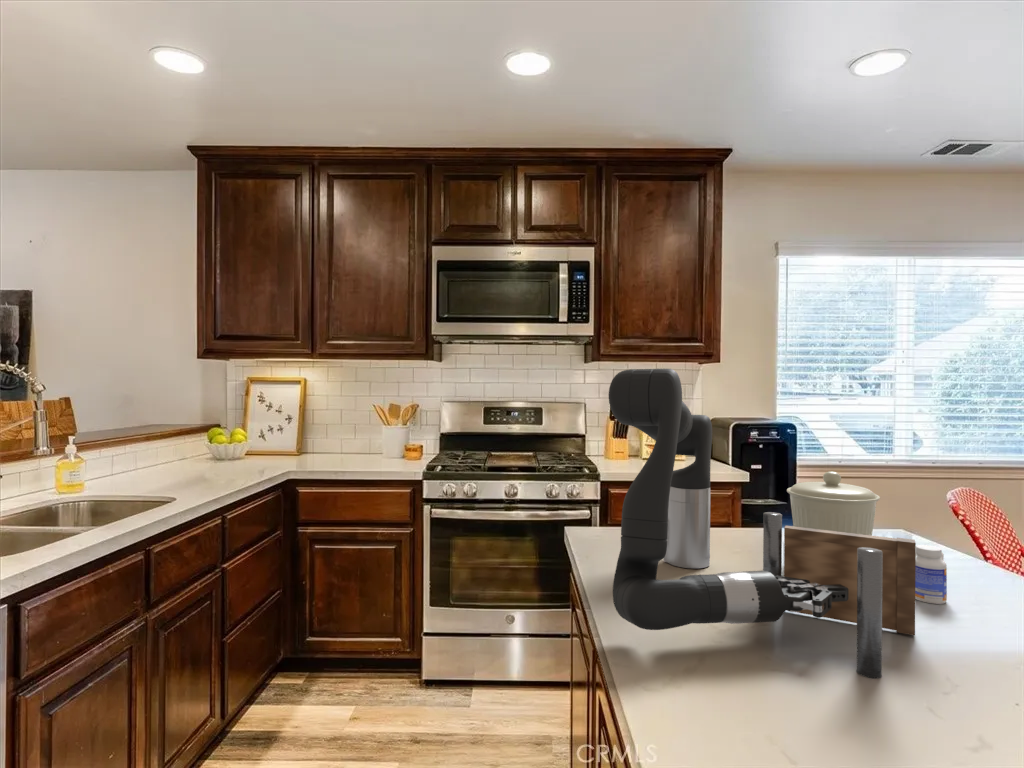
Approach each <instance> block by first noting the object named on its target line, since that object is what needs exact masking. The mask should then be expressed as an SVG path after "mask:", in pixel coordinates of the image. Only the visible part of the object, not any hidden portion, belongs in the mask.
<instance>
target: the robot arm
mask: <svg viewBox="0 0 1024 768" xmlns="http://www.w3.org/2000/svg"><path fill="white" fill-rule="evenodd" d="M608 403H609V408H610V410H611V412H612V415H613V416H614V418H615V419H616V421H617V422H618V423H620V424H622V425H624V426H625V425H626V426H630V427H634V428H636V429H638V430H639V431H641V432H642V433H644V434H646V435H647V436H648V437H650V438H651V439H653V440H654V441H655V442H654V446H653V448H652V450H651V453H650V455H649V456H648V458H647V460H646V462H645V463H644V465H643V466H642V468H641V469H640V471H639V472H638V474H637V475H636V477H634V479H633V481H632V483H631V484H630V486H629V488H628V490H627V492H626V494H625V495H624V499H623V503H622V510H621V522H620V523H621V527H620V550H619V554H618V557H617V562H616V566H615V572H614V577H613V583H612V600H613V605H614V608H615V610H616V612H617V613H618V615H619V616H620V617H621V618H622V619H623V620H625V621H627V622H629V623H631V624H632V625H634V626H636V627H638V628H639V629H642V630H648V631H662V630H669V629H670V630H671V629H675V628H680V627H683V626H688V625H690V624H698V625H699V624H718V623H719V624H721V623H723V624H724V623H725V624H731V625H732V624H733V625H734V624H737V625H738V624H753V623H755V624H756V623H772V622H773V623H774V622H777V621H779V620H780V619H781V618H782V616H783V615H784V613H785V612H786V611H787V610H788V612H790V613H791V612H792V613H797V612H799V611H801V610H805V609H808V610H812V613H813V615H812V617H815V618H818V619H819V618H820V619H821V618H823V617H822V616H824V615H825V614H826V613H827V612H828V611H829V610H830V609H832V602H839V601H847V600H848V588H847V587H845V586H843V585H841V584H833V585H821V584H818V583H810V581H809V580H806V579H798V578H792V577H785V576H784V575H782V576H778V575H774V574H772V573H770V572H769V571H763V570H746V571H741V570H740V571H725V572H720V573H713V574H712V573H711V574H710V573H708V574H694V575H693V574H689V575H685V576H684V575H683V576H681V577H679V579H678V578H677V579H657V573H658V569H659V562H660V561H663V562H664V563H667V564H670V565H672V566H675V567H679V568H683V569H684V568H685V569H703V568H708V567H709V566H710V565H711V561H710V559H711V461H712V460H711V458H712V457H711V456H712V445H713V443H712V441H713V424H712V420H711V418H710V417H709V416H708V415H706V414H692V412H691V411H690V409H689V407H688V406H687V404H685V402H684V401H683V390H682V382H681V378H680V375H679V374H678V373H677V371H675V370H674V369H673V368H638V369H637V368H633V369H632V368H631V369H625V370H622V371H619V372H618V373H616V374H615V375H614V377H613V378H612V380H611V382H610V385H609V388H608ZM676 456H689V457H695V458H694V461H693V462H692V463H691V464H688V465H687V466H686V467H681V468H679V469H675V470H674V467H675V460H676Z"/></svg>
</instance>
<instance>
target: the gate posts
mask: <svg viewBox="0 0 1024 768" xmlns="http://www.w3.org/2000/svg"><path fill="white" fill-rule="evenodd" d="M762 535H763V536H762V537H763V539H762V542H763V546H762V547H763V549H762V550H763V551H762V553H763V554H762V557H763V558H762V567H763V568H762V571H769V572H770V573H772V574H774V575H778V576H783V575H782V573H783V571H782V569H783V568H782V567H783V566H782V564H783V563H782V562H783V559H782V557H783V556H782V555H783V550H782V549H783V514H781V513H780V512H772V511H767V512H763V533H762ZM882 569H883V552H882V551H881V550H878V549H874V548H866V547H861V548H857V623H856V672H857V673H858V674H859V675H860V676H863V677H865V678H869V679H881V678H882V677H883V676H882V674H883V669H882V668H883V628H882Z"/></svg>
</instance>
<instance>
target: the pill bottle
mask: <svg viewBox="0 0 1024 768" xmlns="http://www.w3.org/2000/svg"><path fill="white" fill-rule="evenodd" d="M942 553H943V552H942V548H940V547H938V546H934V545H926V544H919V545H917V544H916V554H917V556H916V565H915V600H917V601H919V602H922V603H923V602H924V603H926V604H927V603H928V604H933V605H942V604H943V605H944V604H946V603H947V601H948V600H947V599H948V596H947V595H948V593H947V592H948V590H947V589H948V588H947V586H948V585H947V584H948V583H947V582H948V579H947V577H948V576H947V574H948V573H947V569H948V568H947V562H946V561H943V560H941V559H940V557H942Z"/></svg>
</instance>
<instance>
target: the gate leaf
mask: <svg viewBox="0 0 1024 768" xmlns="http://www.w3.org/2000/svg"><path fill="white" fill-rule="evenodd" d="M783 532H784V534H783V535H784V542H783V544H784V545H783V546H784V547H783V548H784V553H783V555H784V557H783V558H784V559H783V561H784V562H783V564H784V565H783V576H785V577H792V578H798V579H806V580H809V581H810V583H818V584H821V585H833V584H841V585H843V586H845V587H847V588H848V600H847V601H839V602H832V609H830V610H829V611H828V612H827V613H826V614H825V615H824V616H822V617H821V618H826V619H832V620H836V621H837V620H838V621H842V622H847V623H853V624H857V548H861V547H866V548H874V549H878V550H881V551H882V552H883V569H882V629H886V630H892V631H896V633H900V634H903V635H911V636H916V599H915V565H916V546H917V543H916V540H915V539H912V538H906V537H905V538H903V537H888V536H877V535H872V536H871V535H863V534H854V533H845V532H837V531H828V530H820V529H811V528H802V527H794V526H793V525H784V529H783ZM786 611H788V610H786ZM788 612H789V611H788ZM796 613H798V614H804V615H808V616H813V613H812V610H808V609H805V610H801V611H799V612H796Z"/></svg>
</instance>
